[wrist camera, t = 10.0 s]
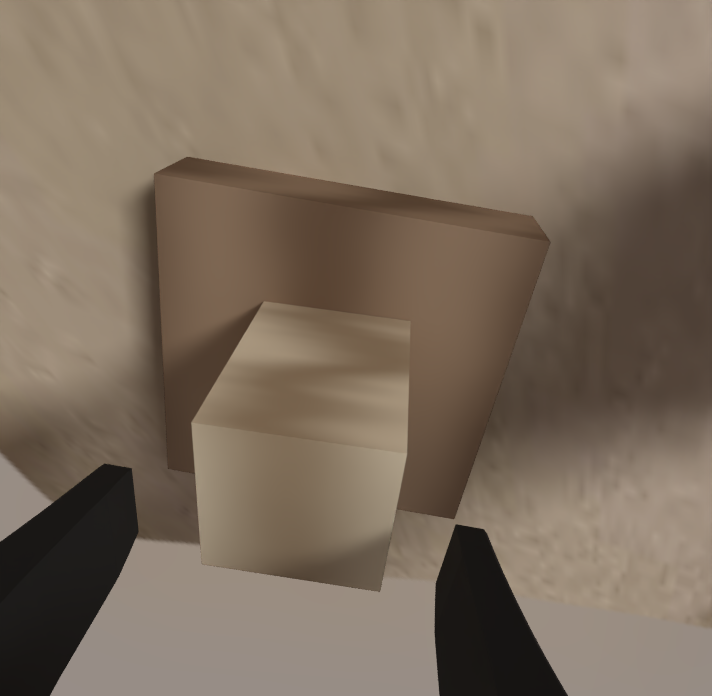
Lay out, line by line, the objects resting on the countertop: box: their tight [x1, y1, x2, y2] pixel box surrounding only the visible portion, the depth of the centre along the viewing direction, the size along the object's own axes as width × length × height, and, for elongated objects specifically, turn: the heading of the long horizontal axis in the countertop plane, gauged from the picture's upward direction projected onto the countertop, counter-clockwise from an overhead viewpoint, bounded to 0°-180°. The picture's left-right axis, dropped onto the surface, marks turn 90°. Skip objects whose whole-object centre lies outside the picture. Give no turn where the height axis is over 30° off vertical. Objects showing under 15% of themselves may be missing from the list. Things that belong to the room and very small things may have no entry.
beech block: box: [191, 301, 411, 592], centre depth 15 cm, size 4×4×6 cm
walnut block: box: [154, 157, 550, 519], centre depth 19 cm, size 11×11×3 cm
